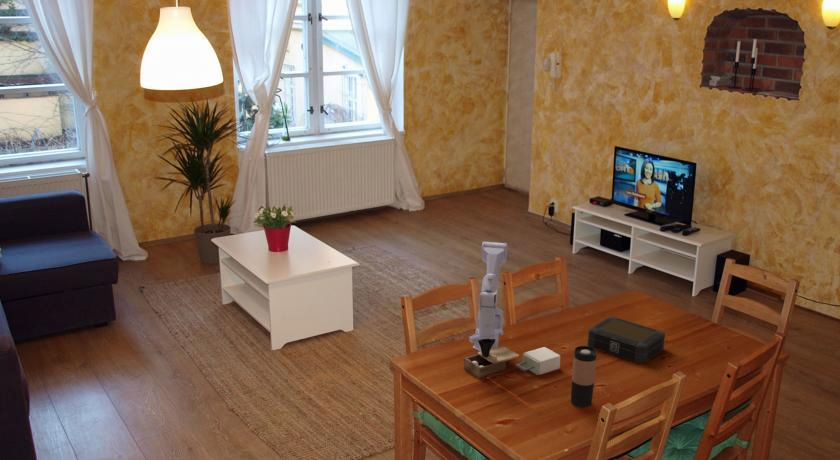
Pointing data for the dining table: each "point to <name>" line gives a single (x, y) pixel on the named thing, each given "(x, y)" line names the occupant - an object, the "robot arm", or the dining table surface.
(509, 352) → the box lid
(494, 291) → the robot arm
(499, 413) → the dining table surface
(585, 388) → the travel mug
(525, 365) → the drawer
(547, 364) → the white cabinet
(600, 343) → the cash box
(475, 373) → the walnut box
